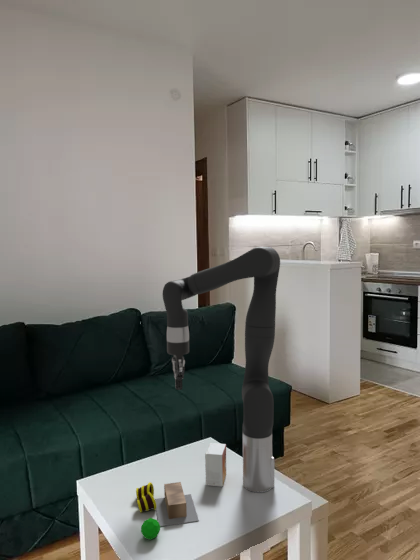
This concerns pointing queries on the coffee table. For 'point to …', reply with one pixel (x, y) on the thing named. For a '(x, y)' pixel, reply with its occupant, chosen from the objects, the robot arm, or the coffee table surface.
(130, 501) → the coffee table surface
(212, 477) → the small box
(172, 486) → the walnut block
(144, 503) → the opera glasses
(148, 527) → the polyhedron
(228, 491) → the coffee table surface
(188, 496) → the mat
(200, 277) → the robot arm
